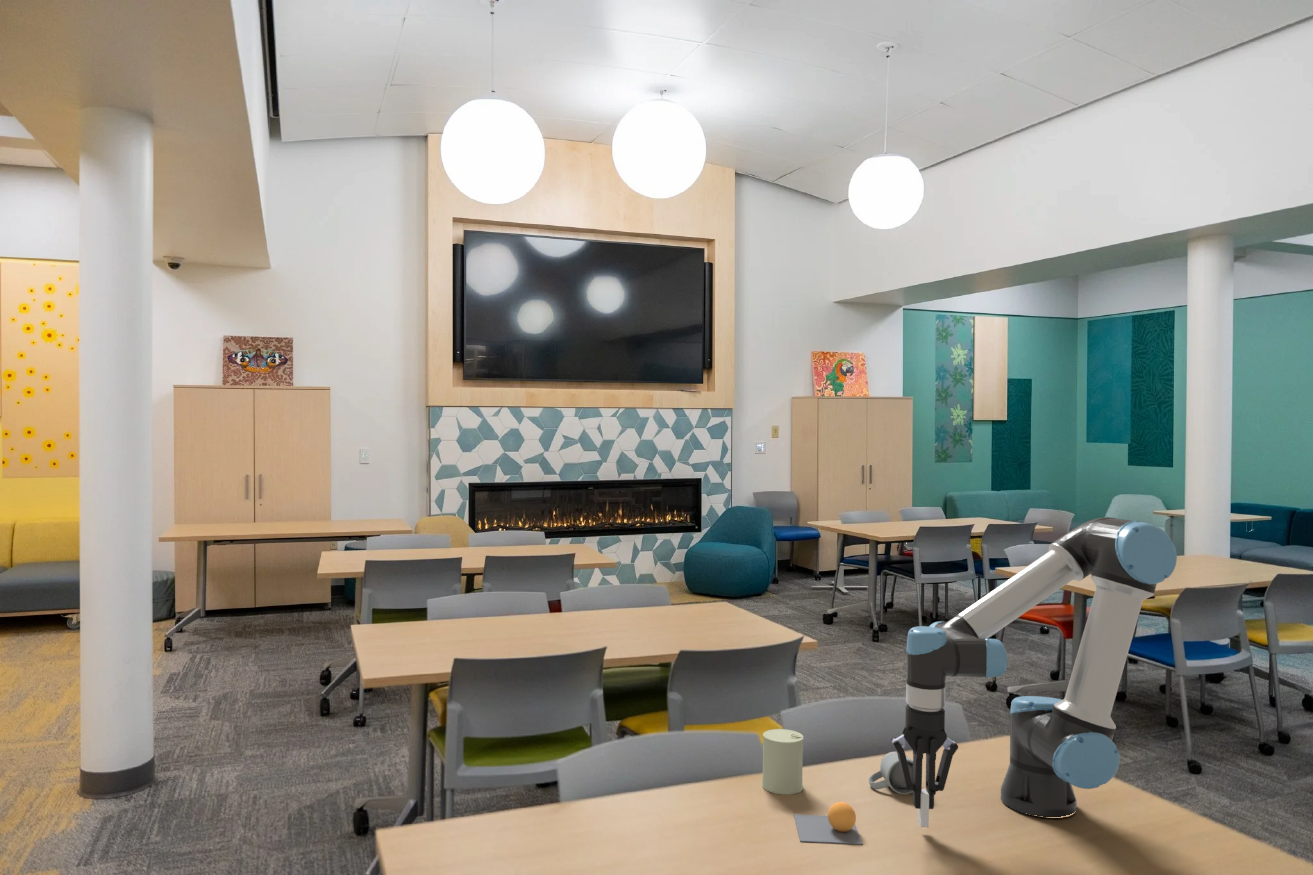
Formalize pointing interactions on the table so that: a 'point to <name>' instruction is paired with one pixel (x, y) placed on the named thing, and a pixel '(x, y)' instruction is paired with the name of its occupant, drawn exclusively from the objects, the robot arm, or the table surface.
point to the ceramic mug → (891, 774)
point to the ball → (841, 816)
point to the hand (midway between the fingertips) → (923, 824)
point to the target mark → (823, 831)
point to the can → (782, 761)
